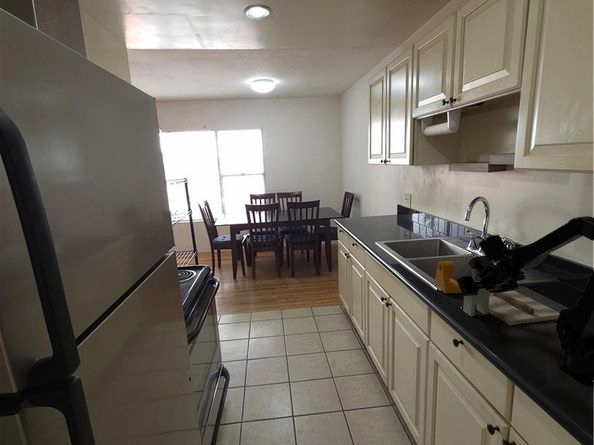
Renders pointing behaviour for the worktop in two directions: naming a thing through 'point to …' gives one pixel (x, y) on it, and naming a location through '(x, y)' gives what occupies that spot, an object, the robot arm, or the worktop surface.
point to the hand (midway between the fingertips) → (473, 293)
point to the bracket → (446, 277)
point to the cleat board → (517, 313)
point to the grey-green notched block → (477, 302)
